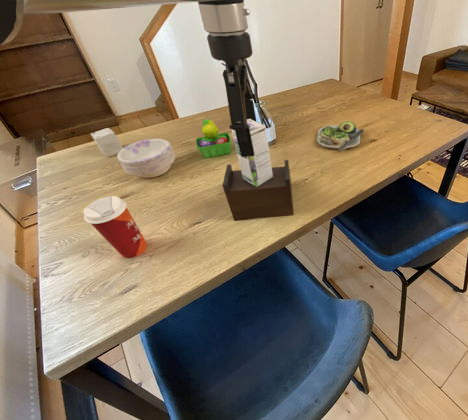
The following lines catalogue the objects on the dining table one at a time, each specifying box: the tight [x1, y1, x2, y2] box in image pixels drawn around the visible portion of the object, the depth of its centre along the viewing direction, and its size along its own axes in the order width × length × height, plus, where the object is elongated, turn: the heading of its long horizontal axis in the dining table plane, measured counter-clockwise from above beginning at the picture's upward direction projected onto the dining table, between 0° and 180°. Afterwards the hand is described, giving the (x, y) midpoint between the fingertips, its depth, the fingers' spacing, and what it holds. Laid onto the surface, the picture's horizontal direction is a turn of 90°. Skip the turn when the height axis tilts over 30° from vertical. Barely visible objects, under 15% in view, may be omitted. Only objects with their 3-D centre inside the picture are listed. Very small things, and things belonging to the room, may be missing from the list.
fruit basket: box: [195, 118, 232, 159], centre depth 96 cm, size 11×9×11 cm
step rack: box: [222, 159, 295, 222], centre depth 76 cm, size 15×16×12 cm
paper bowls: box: [116, 138, 176, 179], centre depth 89 cm, size 15×15×8 cm
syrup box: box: [230, 119, 273, 187], centre depth 66 cm, size 6×6×14 cm
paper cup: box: [83, 195, 148, 259], centre depth 62 cm, size 8×8×14 cm
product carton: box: [90, 127, 124, 158], centre depth 98 cm, size 6×6×7 cm
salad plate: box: [316, 121, 365, 152], centre depth 104 cm, size 19×18×5 cm
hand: (250, 140), depth 63 cm, fingers open, 13 cm apart
